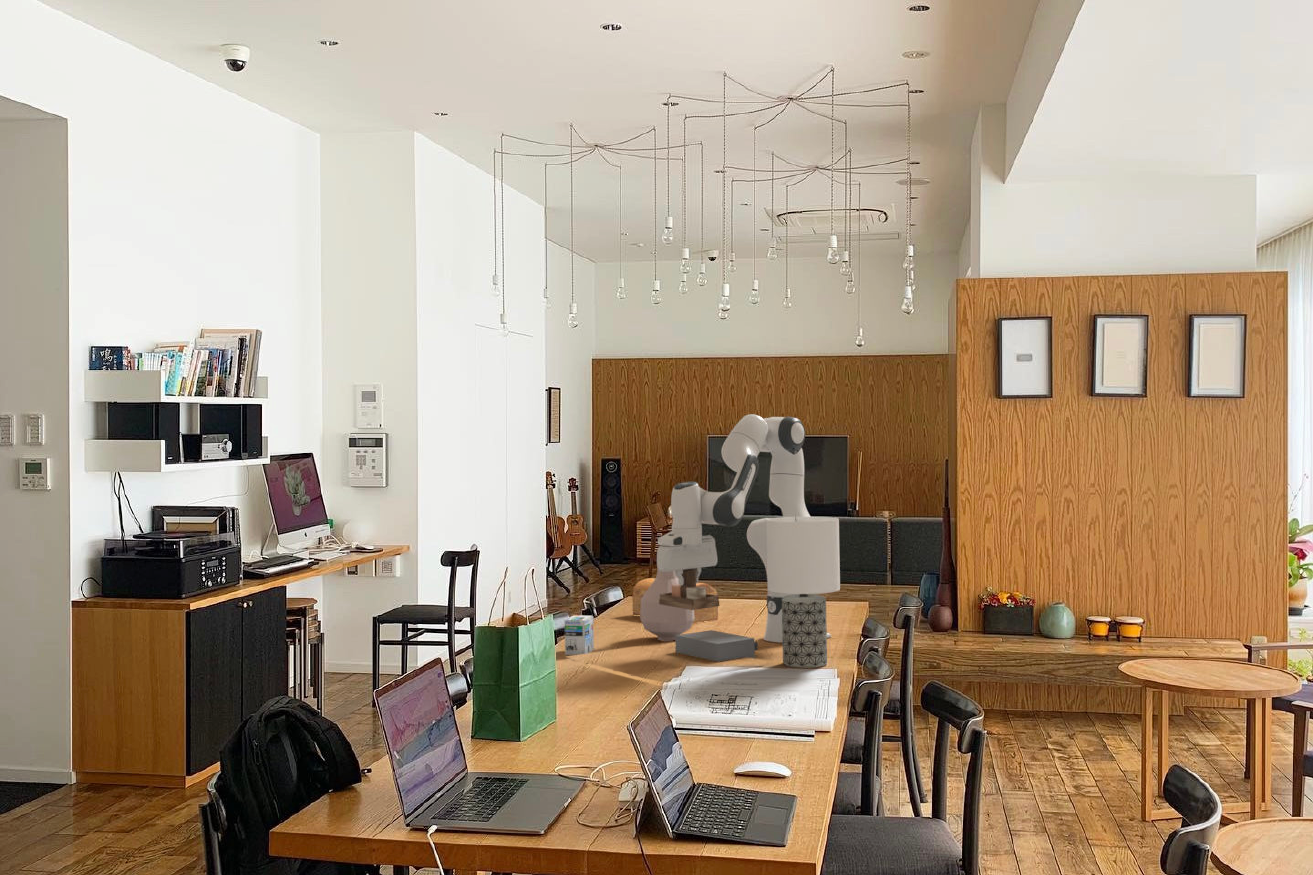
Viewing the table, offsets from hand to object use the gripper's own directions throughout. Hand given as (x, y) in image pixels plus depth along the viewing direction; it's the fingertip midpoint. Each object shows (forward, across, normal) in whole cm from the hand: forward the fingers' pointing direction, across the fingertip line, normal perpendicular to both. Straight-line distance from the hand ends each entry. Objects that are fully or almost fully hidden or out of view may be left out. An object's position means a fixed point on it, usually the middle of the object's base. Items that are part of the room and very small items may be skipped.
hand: (688, 584), depth 346 cm
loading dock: (+22, -8, +1) cm, 24 cm away
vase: (+23, -16, -33) cm, 43 cm away
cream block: (+5, 0, +4) cm, 6 cm away
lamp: (+23, -20, +27) cm, 41 cm away
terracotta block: (+5, 0, -4) cm, 6 cm away
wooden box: (+24, -46, -68) cm, 85 cm away
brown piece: (+6, 0, 0) cm, 6 cm away
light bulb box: (+22, +18, -33) cm, 43 cm away
